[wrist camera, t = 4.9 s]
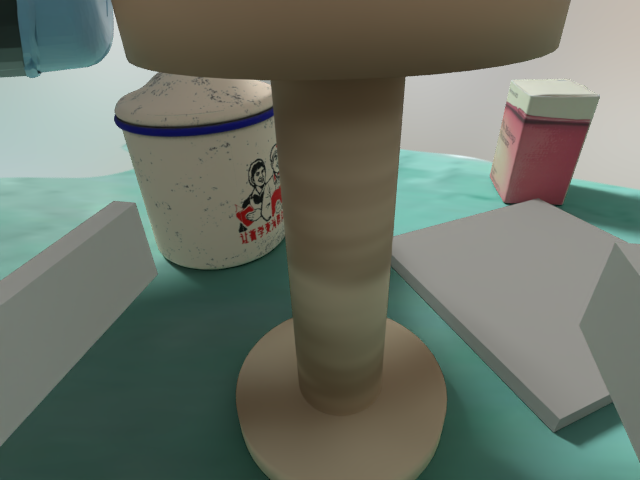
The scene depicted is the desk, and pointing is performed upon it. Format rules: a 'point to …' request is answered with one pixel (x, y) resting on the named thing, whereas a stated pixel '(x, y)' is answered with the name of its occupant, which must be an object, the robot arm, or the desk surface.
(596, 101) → the small box
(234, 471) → the desk surface
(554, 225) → the mat
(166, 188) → the teacup with lid
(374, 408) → the stool
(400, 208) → the desk surface
